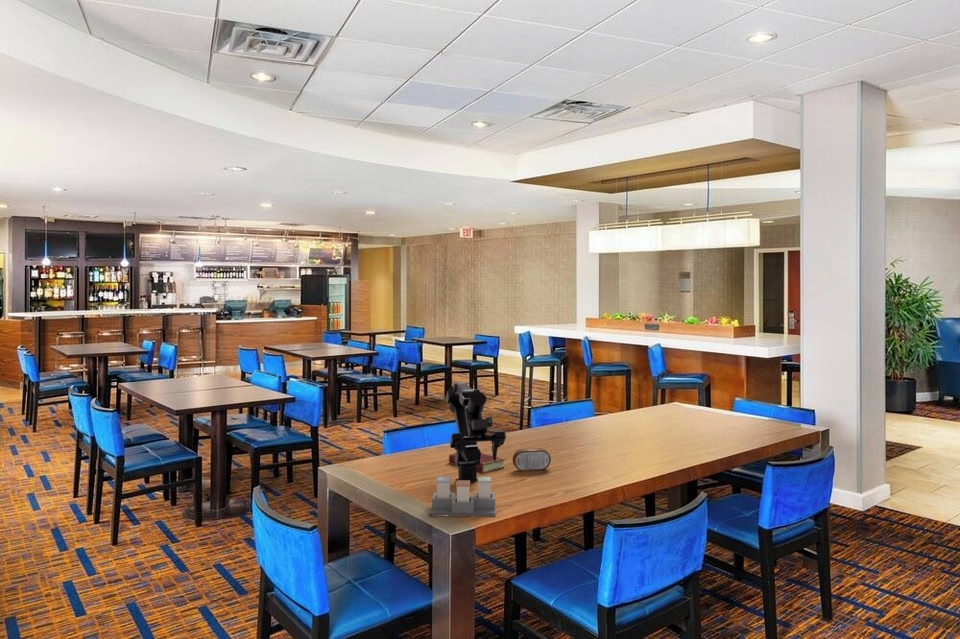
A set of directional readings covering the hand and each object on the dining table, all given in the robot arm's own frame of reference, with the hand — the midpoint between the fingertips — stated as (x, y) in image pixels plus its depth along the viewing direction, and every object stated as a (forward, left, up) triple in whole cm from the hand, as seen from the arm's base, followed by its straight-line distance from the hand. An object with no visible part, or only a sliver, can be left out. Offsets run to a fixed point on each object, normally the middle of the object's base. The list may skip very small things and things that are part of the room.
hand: (481, 461), depth 219 cm
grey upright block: (-3, -15, -10) cm, 18 cm away
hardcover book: (-34, +30, -14) cm, 48 cm away
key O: (+7, -5, -10) cm, 13 cm away
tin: (-13, +40, -13) cm, 44 cm away
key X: (+5, -13, -10) cm, 17 cm away
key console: (+3, -11, -13) cm, 18 cm away
